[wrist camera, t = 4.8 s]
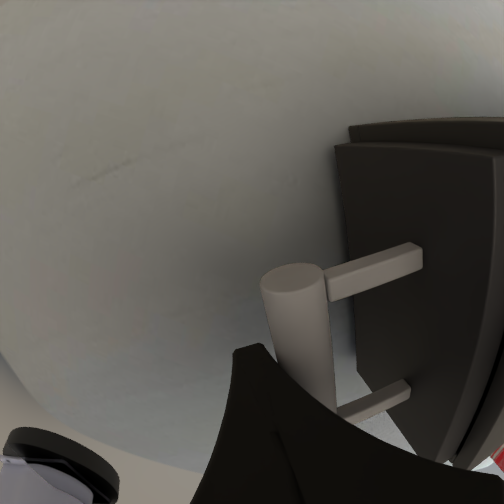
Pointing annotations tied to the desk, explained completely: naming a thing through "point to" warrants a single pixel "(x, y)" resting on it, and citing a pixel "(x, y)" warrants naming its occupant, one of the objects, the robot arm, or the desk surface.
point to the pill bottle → (499, 457)
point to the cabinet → (500, 392)
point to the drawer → (405, 290)
